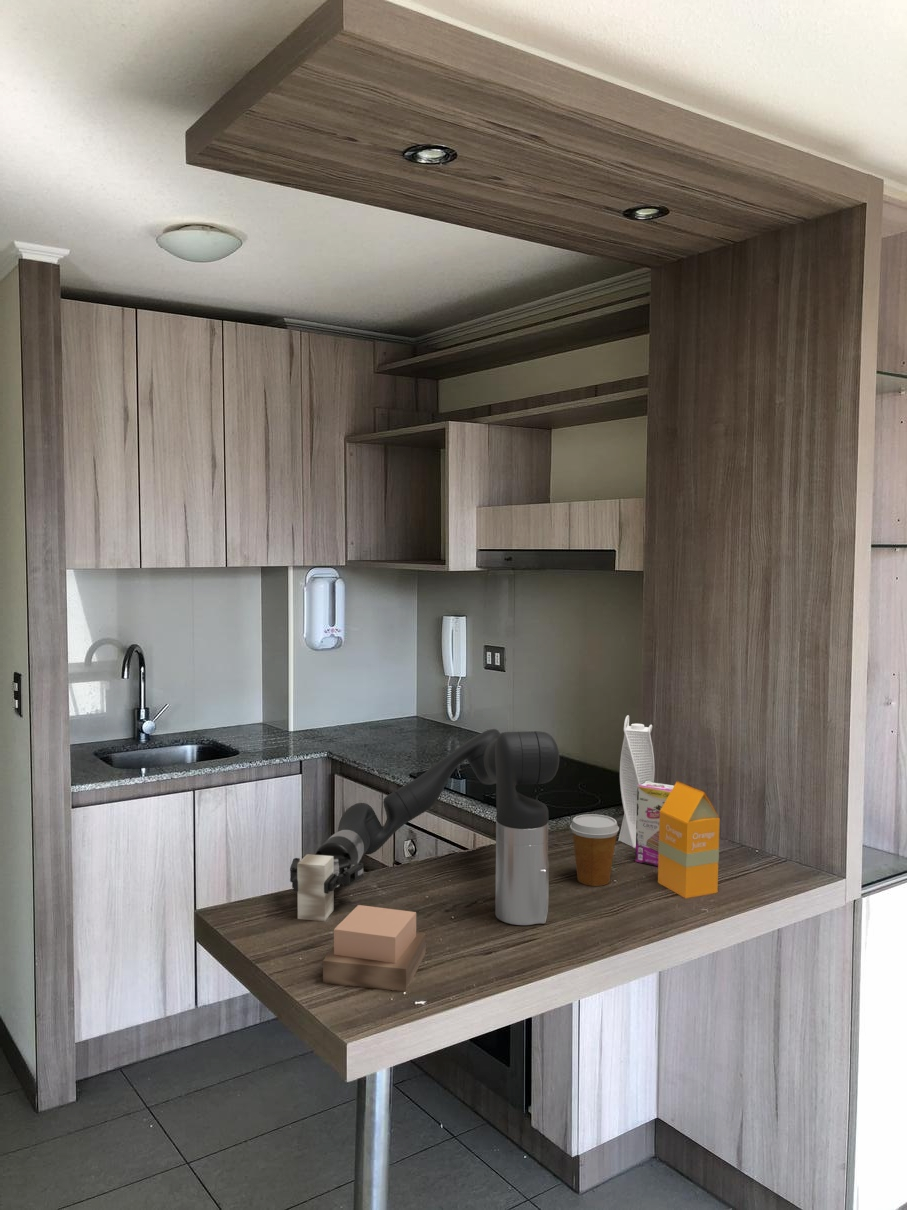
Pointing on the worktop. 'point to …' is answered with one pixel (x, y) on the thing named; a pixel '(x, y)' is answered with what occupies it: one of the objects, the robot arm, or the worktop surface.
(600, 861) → the disposable coffee cup
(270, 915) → the worktop surface
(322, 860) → the cream block
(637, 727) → the skyscraper
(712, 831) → the orange juice
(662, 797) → the candy bar box
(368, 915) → the tower top block
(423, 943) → the tower base block
